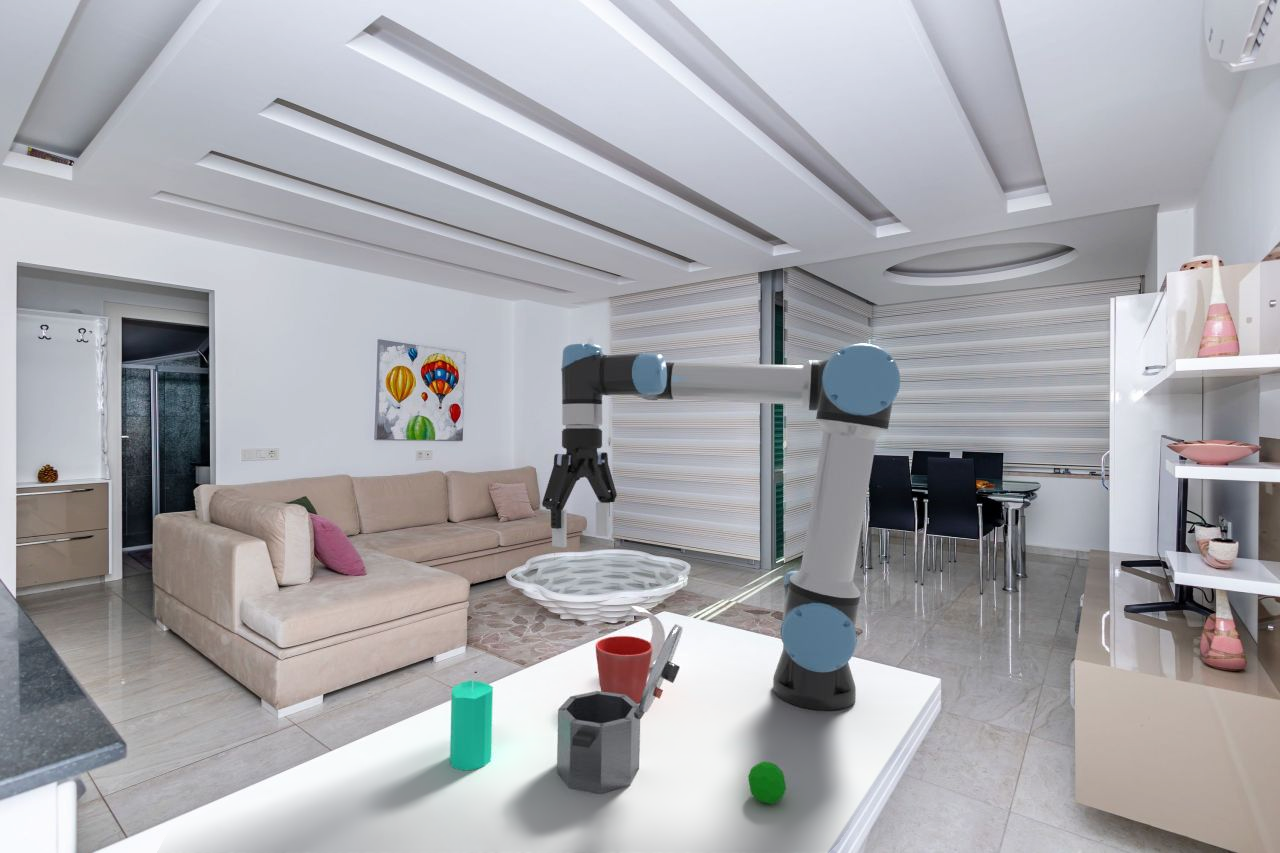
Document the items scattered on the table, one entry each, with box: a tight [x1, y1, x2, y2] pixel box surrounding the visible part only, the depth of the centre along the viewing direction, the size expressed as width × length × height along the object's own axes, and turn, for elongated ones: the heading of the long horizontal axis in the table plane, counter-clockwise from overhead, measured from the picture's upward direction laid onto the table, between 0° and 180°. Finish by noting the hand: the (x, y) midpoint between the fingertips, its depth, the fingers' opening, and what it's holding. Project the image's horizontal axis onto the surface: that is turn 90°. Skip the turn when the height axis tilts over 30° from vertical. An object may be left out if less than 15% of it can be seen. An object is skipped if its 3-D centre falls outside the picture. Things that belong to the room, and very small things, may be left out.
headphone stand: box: [630, 605, 666, 670], centre depth 132 cm, size 5×6×12 cm
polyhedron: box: [747, 761, 787, 805], centre depth 84 cm, size 5×5×5 cm
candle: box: [449, 677, 494, 771], centre depth 93 cm, size 6×6×12 cm
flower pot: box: [595, 635, 653, 704], centre depth 116 cm, size 11×11×10 cm
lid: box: [634, 623, 683, 720], centre depth 88 cm, size 13×12×3 cm
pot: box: [556, 690, 641, 795], centre depth 91 cm, size 11×15×9 cm
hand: (582, 541), depth 117 cm, fingers open, 13 cm apart
